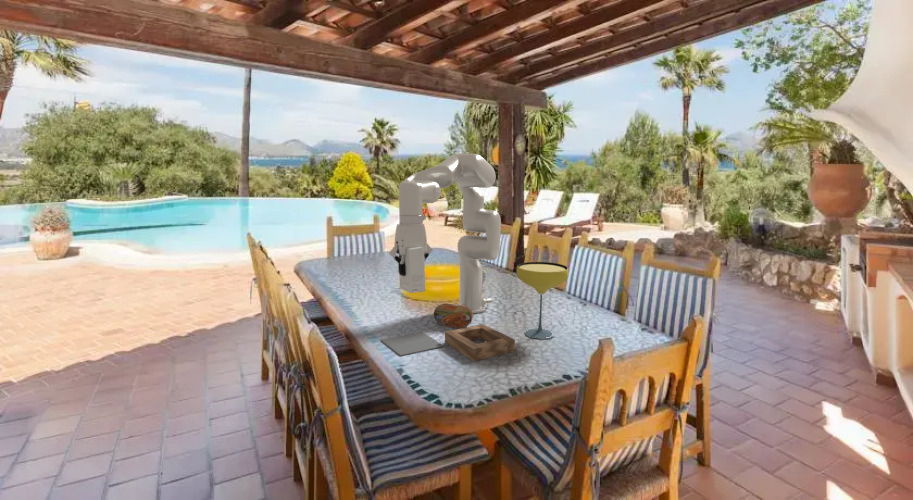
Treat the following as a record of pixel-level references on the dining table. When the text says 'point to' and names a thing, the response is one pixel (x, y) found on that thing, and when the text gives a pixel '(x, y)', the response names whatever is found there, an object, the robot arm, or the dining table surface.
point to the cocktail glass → (541, 284)
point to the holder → (490, 348)
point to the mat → (411, 343)
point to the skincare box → (413, 271)
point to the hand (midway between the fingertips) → (411, 273)
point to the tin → (453, 315)
